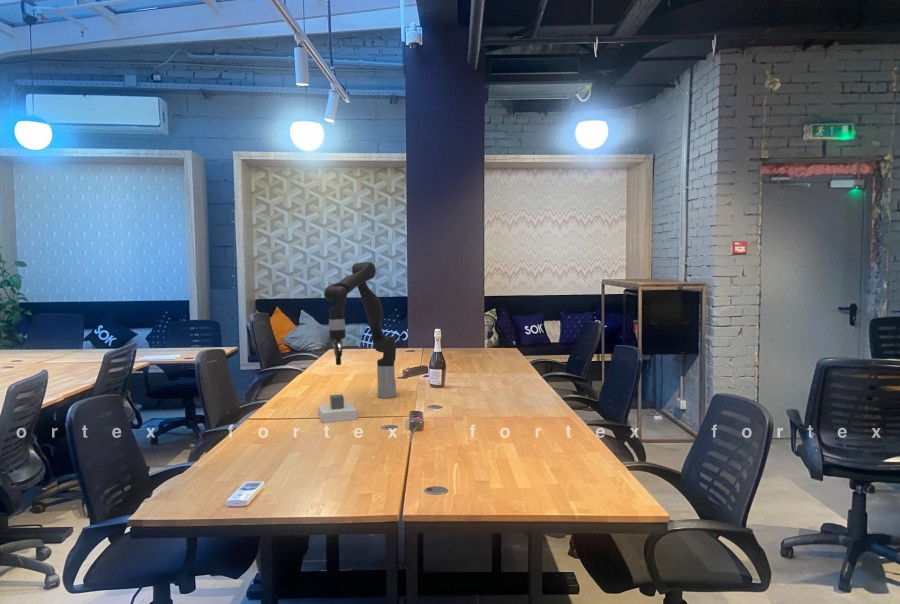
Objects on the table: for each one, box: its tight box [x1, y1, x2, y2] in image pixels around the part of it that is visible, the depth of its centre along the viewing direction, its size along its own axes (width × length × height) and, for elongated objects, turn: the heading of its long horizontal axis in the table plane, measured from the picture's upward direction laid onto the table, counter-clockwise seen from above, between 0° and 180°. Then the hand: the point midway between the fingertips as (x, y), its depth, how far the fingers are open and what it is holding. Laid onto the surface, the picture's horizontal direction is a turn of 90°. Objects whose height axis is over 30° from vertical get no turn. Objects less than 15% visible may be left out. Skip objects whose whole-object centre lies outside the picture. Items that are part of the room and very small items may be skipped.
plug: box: [329, 393, 345, 409], centre depth 278 cm, size 6×6×10 cm
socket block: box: [317, 401, 358, 424], centre depth 278 cm, size 16×16×4 cm
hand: (338, 364), depth 279 cm, fingers closed
